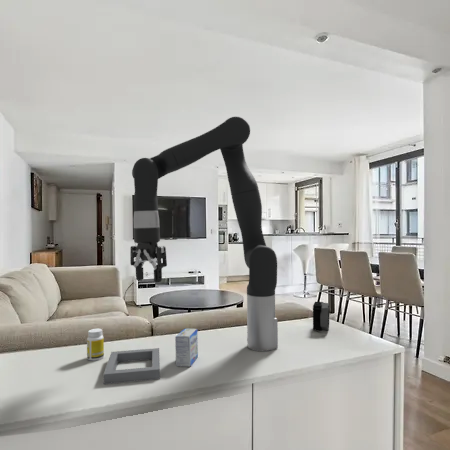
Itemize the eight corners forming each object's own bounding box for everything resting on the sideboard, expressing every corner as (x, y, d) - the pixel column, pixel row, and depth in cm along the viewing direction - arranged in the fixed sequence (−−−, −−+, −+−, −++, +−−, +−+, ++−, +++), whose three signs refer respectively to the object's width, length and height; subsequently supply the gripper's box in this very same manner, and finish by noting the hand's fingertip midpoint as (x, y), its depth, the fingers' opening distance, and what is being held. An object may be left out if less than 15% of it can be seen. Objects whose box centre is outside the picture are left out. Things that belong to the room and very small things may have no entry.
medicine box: (190, 367, 96) (190, 336, 96) (175, 366, 97) (175, 335, 97) (198, 357, 104) (197, 328, 104) (184, 356, 105) (183, 327, 105)
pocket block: (159, 356, 105) (159, 348, 105) (159, 378, 89) (159, 369, 89) (111, 360, 102) (111, 351, 102) (103, 384, 86) (103, 374, 86)
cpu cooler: (328, 334, 125) (327, 306, 125) (312, 332, 127) (311, 305, 127) (330, 326, 135) (329, 300, 135) (315, 324, 137) (314, 299, 137)
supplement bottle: (107, 356, 106) (106, 328, 106) (96, 361, 101) (96, 333, 101) (94, 354, 107) (94, 327, 107) (83, 359, 103) (83, 331, 103)
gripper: (172, 225, 100) (174, 280, 100) (142, 226, 110) (144, 277, 110) (151, 226, 95) (153, 284, 95) (122, 227, 104) (123, 281, 104)
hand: (148, 280), depth 102 cm, fingers open, 8 cm apart
